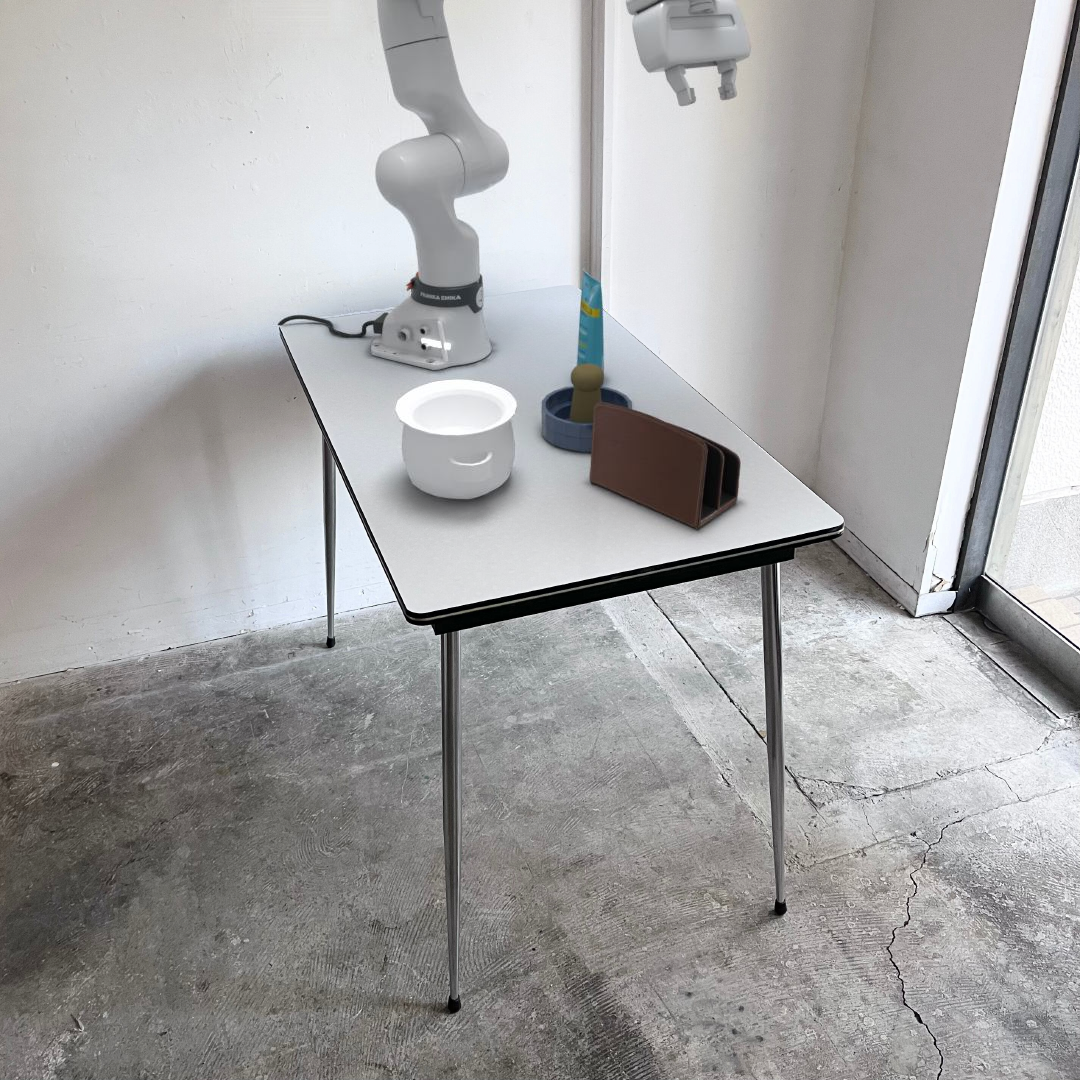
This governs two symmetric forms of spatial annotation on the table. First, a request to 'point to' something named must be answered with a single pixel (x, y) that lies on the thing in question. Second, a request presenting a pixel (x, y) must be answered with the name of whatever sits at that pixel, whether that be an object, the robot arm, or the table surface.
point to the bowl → (558, 415)
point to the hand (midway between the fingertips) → (709, 101)
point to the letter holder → (662, 465)
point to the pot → (457, 437)
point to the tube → (591, 323)
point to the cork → (585, 392)
